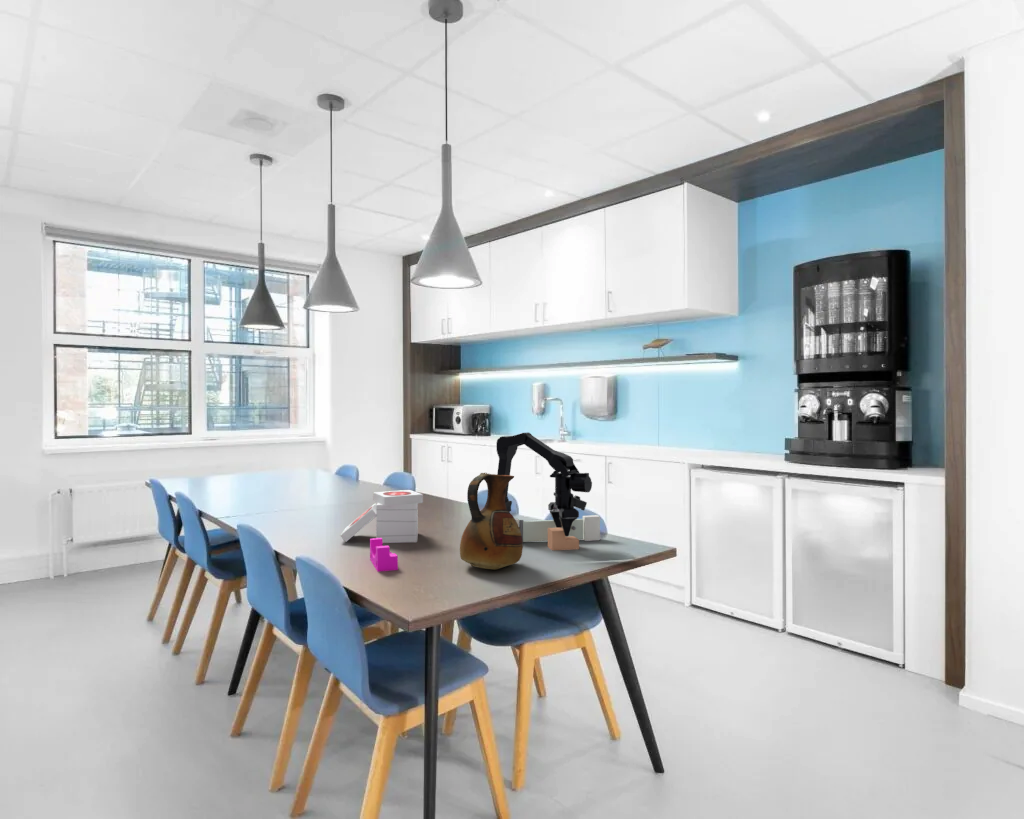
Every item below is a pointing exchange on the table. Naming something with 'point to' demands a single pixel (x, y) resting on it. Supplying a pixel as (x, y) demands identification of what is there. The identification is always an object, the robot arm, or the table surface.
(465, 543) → the ceramic pitcher
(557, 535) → the tan stair step
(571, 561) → the table surface
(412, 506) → the pizza boxes
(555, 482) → the robot arm
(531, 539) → the door
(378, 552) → the toy block
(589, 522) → the white small block
